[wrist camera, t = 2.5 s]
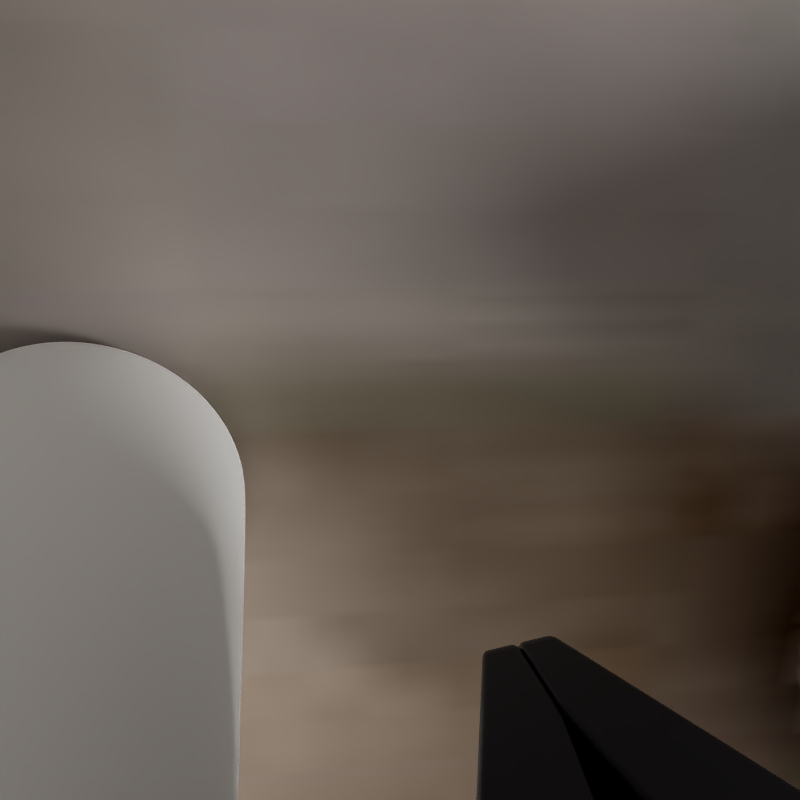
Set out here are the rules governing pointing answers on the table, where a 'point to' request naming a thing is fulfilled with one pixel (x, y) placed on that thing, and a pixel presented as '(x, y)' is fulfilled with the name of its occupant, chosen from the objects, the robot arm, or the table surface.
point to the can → (117, 581)
